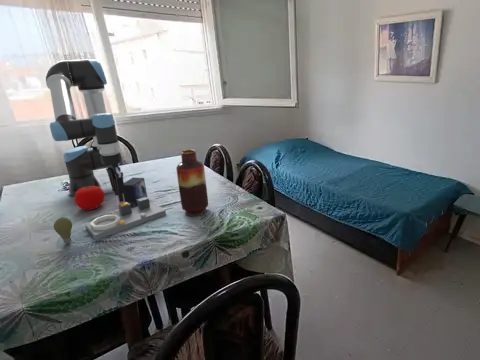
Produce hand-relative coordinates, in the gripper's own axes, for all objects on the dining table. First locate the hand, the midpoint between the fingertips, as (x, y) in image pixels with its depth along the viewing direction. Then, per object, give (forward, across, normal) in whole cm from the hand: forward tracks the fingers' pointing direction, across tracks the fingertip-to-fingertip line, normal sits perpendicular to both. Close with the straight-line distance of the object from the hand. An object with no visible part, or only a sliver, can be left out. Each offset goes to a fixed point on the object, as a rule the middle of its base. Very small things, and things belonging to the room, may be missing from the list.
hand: (122, 208), depth 125 cm
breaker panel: (+4, +6, -1) cm, 7 cm away
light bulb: (+4, +7, -23) cm, 24 cm away
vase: (+4, +20, +23) cm, 31 cm away
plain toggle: (+1, +3, +8) cm, 9 cm away
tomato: (+4, -21, -7) cm, 22 cm away
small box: (+4, -11, +10) cm, 15 cm away
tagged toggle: (+2, +3, 0) cm, 4 cm away
